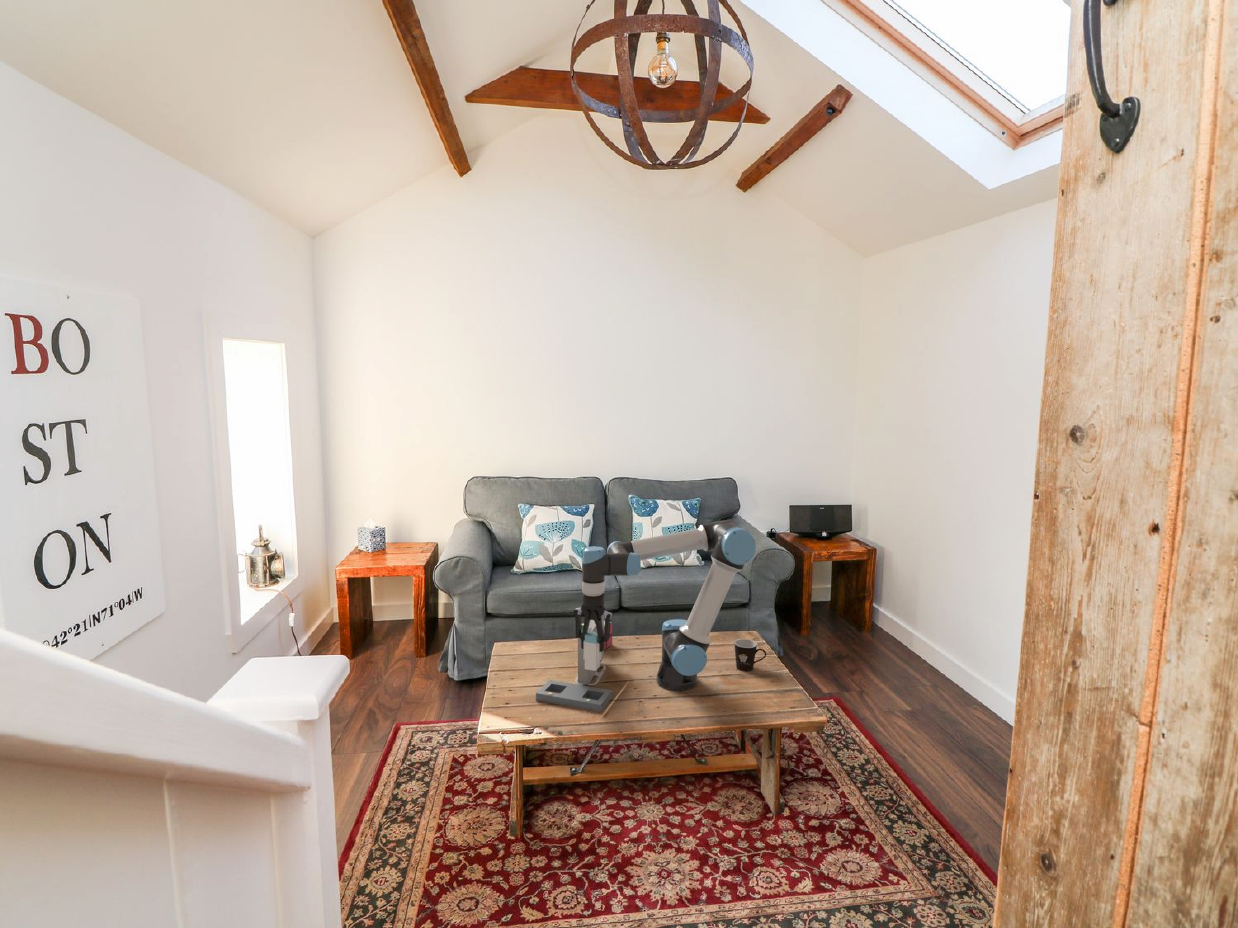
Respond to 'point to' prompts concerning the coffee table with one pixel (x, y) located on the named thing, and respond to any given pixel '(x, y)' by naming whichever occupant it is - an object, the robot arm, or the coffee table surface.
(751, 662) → the coffee mug
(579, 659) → the network device
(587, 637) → the plug
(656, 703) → the coffee table surface
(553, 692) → the jack panel
